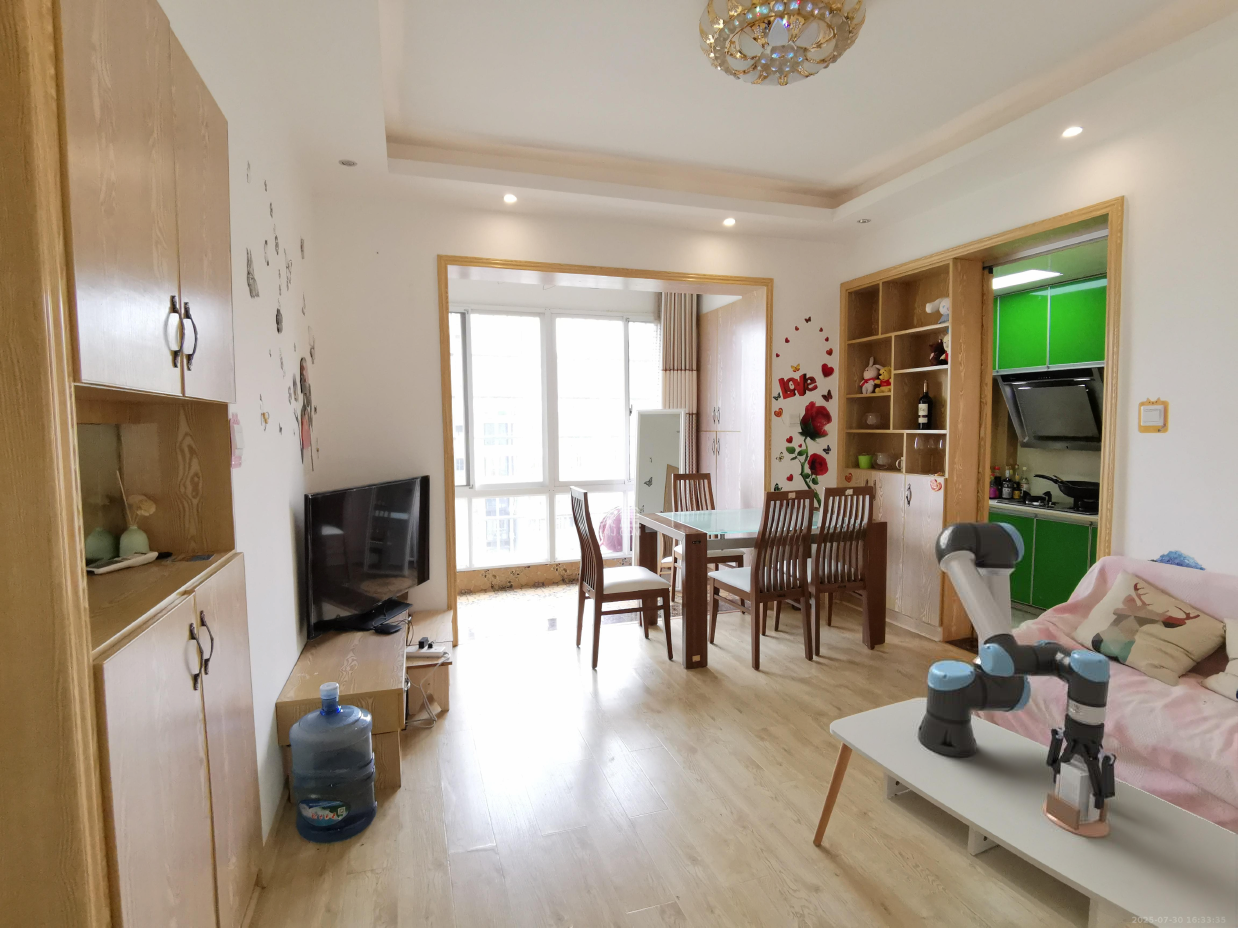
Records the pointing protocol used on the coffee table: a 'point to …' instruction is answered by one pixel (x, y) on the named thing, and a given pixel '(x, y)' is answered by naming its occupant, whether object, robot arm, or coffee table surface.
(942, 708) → the robot arm
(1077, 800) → the skincare box
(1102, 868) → the coffee table surface
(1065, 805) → the napkin holder
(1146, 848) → the coffee table surface
